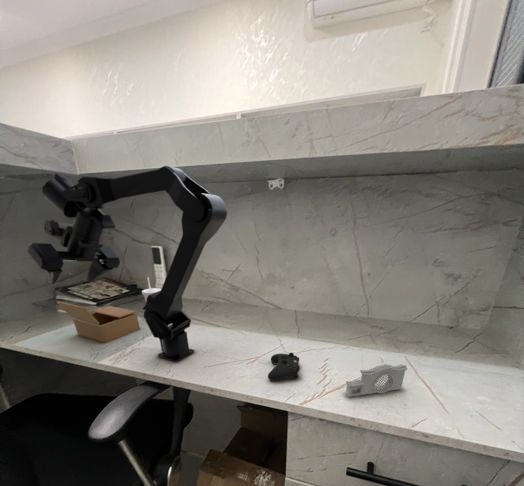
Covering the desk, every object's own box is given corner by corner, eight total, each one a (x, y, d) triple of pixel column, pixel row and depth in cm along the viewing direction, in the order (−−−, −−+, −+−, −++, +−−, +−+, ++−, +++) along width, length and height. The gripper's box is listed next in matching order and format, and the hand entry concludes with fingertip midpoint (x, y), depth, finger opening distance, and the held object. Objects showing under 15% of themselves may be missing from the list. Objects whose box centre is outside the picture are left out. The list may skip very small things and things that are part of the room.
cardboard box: (140, 328, 88) (136, 311, 85) (104, 342, 78) (99, 323, 76) (113, 322, 93) (109, 305, 91) (77, 334, 84) (71, 316, 81)
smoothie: (143, 319, 96) (134, 278, 90) (157, 313, 101) (150, 274, 95) (156, 321, 93) (148, 279, 87) (170, 316, 98) (163, 276, 92)
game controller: (269, 357, 67) (287, 341, 65) (284, 371, 68) (302, 356, 66) (265, 378, 58) (286, 361, 56) (283, 394, 60) (304, 378, 57)
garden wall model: (347, 398, 53) (351, 371, 50) (343, 393, 55) (347, 367, 52) (403, 390, 55) (409, 364, 53) (397, 385, 57) (403, 359, 54)
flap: (84, 307, 72) (83, 308, 71) (99, 323, 76) (98, 324, 76) (57, 301, 77) (56, 301, 77) (72, 316, 82) (71, 317, 81)
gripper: (104, 213, 73) (87, 260, 81) (18, 200, 57) (9, 260, 65) (130, 243, 71) (111, 287, 79) (50, 238, 55) (36, 294, 64)
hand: (70, 282), depth 72 cm, fingers open, 9 cm apart
